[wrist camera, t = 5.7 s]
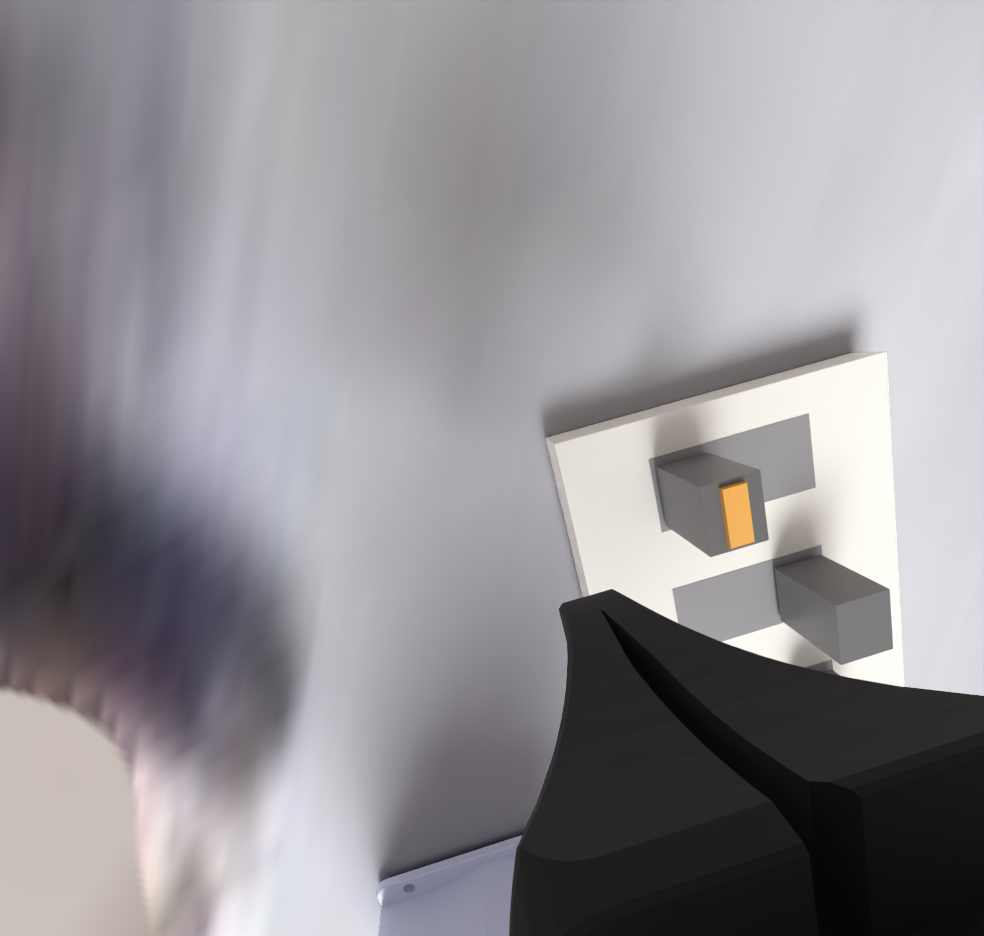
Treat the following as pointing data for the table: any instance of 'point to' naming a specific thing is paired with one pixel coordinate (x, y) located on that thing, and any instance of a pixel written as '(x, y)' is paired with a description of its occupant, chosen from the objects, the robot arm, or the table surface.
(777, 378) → the breaker panel
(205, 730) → the table surface
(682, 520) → the breaker
